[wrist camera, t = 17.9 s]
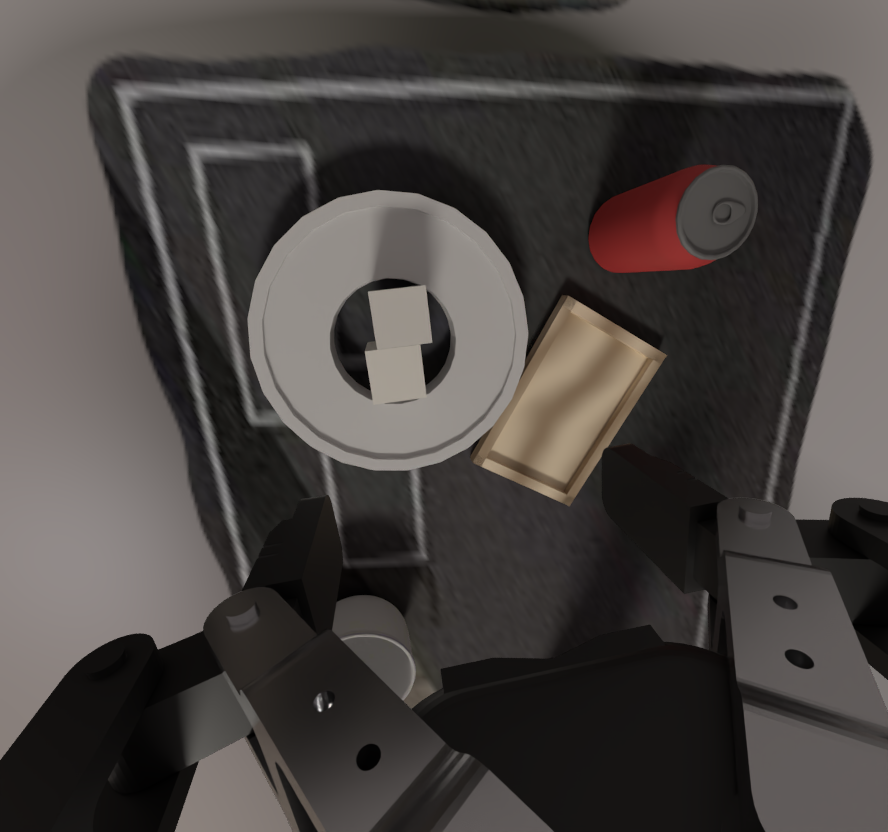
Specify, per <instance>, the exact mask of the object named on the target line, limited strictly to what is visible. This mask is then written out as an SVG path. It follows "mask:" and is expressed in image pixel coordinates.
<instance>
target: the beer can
mask: <svg viewBox="0 0 888 832" xmlns="http://www.w3.org/2000/svg"><path fill="white" fill-rule="evenodd" d="M757 211H758V194H757V191H756V188H755V185H754V182H753V181H752V179H751V178H750V177H749V176H748V174H747V173H746V172H745V171H743V170H741V169H740V168H738V167H736V166H731V165H719V166H715V165H696V166H693V167H689V168H686V169H683V170H680V171H678V172H675V173H673V174H670V175H667V176H665V177H662V178H660V179H657V180H655V181H652V182H650V183H647V184H644V185H642V186H639V187H637V188H634V189H632V190H629V191H627V192H624V193H621V194H619V195H616V196H614V197H612V198H611V199H609V200H608V201H606V202H605V203H604V204H603V205H602V206H601V207H600V208H599V210H598V211H597V212H596V213H595V215H594V218H593V220H592V223H591V225H590V230H589V237H588V240H589V246H590V251H591V253H592V255H593V257H594V259H595V261H596V262H597V263H598V264H599V265H600V266H601V267H602V268H604V269H606V270H608V271H610V272H616V273H629V272H648V271H667V270H686V269H693V268H697V267H700V266H703V265H706V264H709V263H711V262H713V261H715V260H716V259H719V258H722V257H726V256H728V255H729V254H731V253H732V252H733V251H735V250H736V249H738V248H739V247H740V246H741V244H742V243H743V242H744V241H745V240H746V239H747V237H748V235H749V234H750V232H751V230H752V228H753V226H754V224H755V219H756V215H757Z"/></svg>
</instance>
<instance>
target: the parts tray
mask: <svg viewBox="0 0 888 832" xmlns="http://www.w3.org/2000/svg"><path fill="white" fill-rule="evenodd" d="M666 356H667V355H666V354H664V353H662V352H661V351H659V350H657V349H656V348H654V347H652V346H651V345H649V344H647V343H646V342H644V341H642V340H641V339H639V338H637V337H636V336H634V335H633V334H631V333H629V332H628V331H626V330H624V329H623V328H621V327H619V326H618V325H616V324H614V323H613V322H611V321H609V320H608V319H606V318H604V317H603V316H601V315H599V314H598V313H596V312H595V311H593V310H591V309H590V308H588V307H586V306H585V305H583V304H581V303H580V302H578V301H576V300H575V299H573V298H571V297H570V296H567V295H562V296H561V298H560V300H559V301H558V303H557V305H556V307H555V308H554V310H553V312H552V314H551V315H550V317H549V319H548V321H547V322H546V324H545V326H544V328H543V329H542V331H541V333H540V335H539V337H538V338H537V340H536V342H535V344H534V345H533V347H532V349H531V351H530V352H529V354H528V356H527V358H526V359H525V365H524V369H523V372H522V374H521V377H520V380H519V382H518V385H517V387H516V390H515V393H514V395H513V398H512V400H511V401H510V403H509V404H508V405H507V407H506V408H505V410H504V411H503V413H502V414H501V415H500V417H499V418H498V420H497V421H496V423H495V424H494V425H493V427H491V428H490V429H489V430H488V431H487V432H486V433H485V434H483V435H482V437H481V439H480V440H479V442H478V444H477V446H476V447H475V449H474V451H473V453H472V455H471V456H470V458H471V460H472V462H473V463H475V464H477V465H479V466H481V467H483V468H486V469H488V470H490V471H492V472H495V473H497V474H499V475H501V476H504V477H506V478H508V479H510V480H513V481H515V482H517V483H519V484H521V485H524V486H526V487H528V488H530V489H533V490H535V491H537V492H539V493H542V494H544V495H546V496H548V497H551V498H553V499H555V500H557V501H560V502H562V503H564V504H566V505H568V506H570V504H571V503H572V501H573V500H574V498H575V497H576V495H577V494H578V492H579V490H580V489H581V487H582V486H583V484H584V483H585V481H586V480H587V478H588V476H589V475H590V473H591V472H592V470H593V469H594V467H595V466H596V464H597V463H598V461H599V459H600V458H601V456H602V453H603V450H604V449H605V448H607V447H608V446H609V444H610V442H611V441H612V439H613V438H614V436H615V435H616V433H617V432H618V430H619V428H620V427H621V425H622V424H623V422H624V421H625V419H626V418H627V416H628V415H629V413H630V411H631V410H632V408H633V407H634V405H635V404H636V402H637V401H638V399H639V397H640V396H641V394H642V393H643V391H644V390H645V388H646V387H647V385H648V384H649V382H650V380H651V379H652V377H653V376H654V374H655V373H656V371H657V370H658V368H659V366H660V365H661V363H662V362H663V360H664V359H665V357H666Z"/></svg>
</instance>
